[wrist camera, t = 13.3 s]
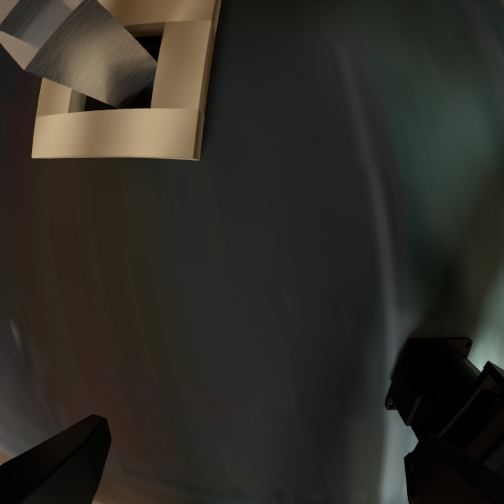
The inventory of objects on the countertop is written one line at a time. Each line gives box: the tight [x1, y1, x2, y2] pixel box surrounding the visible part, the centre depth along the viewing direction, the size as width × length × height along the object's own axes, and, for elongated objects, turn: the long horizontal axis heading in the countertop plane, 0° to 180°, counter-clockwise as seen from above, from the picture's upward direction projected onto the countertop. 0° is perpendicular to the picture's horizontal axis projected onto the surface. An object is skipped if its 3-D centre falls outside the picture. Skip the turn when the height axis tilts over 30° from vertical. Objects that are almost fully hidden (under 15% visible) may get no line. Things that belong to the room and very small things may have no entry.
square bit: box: [0, 0, 158, 109], centre depth 11 cm, size 4×4×12 cm
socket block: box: [32, 0, 221, 160], centre depth 16 cm, size 11×11×2 cm
